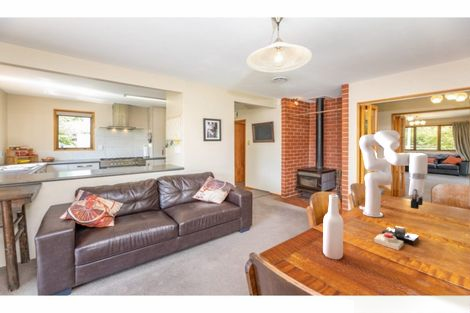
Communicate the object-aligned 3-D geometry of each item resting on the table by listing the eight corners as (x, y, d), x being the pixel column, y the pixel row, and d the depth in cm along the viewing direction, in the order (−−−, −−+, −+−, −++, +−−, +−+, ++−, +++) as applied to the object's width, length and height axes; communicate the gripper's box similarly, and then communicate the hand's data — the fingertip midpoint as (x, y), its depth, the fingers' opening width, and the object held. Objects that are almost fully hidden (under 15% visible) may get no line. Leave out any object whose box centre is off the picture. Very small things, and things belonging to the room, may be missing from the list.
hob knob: (394, 232, 116) (394, 225, 116) (395, 231, 117) (395, 225, 117) (404, 235, 113) (404, 228, 112) (405, 234, 114) (405, 227, 113)
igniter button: (383, 236, 110) (383, 233, 110) (385, 234, 112) (385, 231, 112) (391, 239, 107) (391, 236, 107) (393, 237, 109) (393, 234, 109)
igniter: (373, 242, 112) (373, 234, 112) (379, 237, 117) (379, 230, 116) (398, 250, 103) (398, 242, 103) (403, 245, 108) (403, 237, 108)
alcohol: (342, 262, 94) (343, 198, 92) (321, 256, 99) (322, 196, 97) (343, 252, 102) (344, 194, 100) (324, 248, 106) (325, 192, 104)
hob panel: (381, 236, 118) (382, 231, 118) (387, 231, 124) (388, 226, 124) (413, 246, 107) (413, 240, 106) (418, 240, 113) (418, 234, 112)
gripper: (412, 173, 121) (411, 202, 122) (404, 177, 110) (403, 208, 111) (430, 175, 115) (428, 204, 116) (423, 179, 104) (422, 211, 105)
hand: (416, 206), depth 114 cm, fingers open, 9 cm apart
